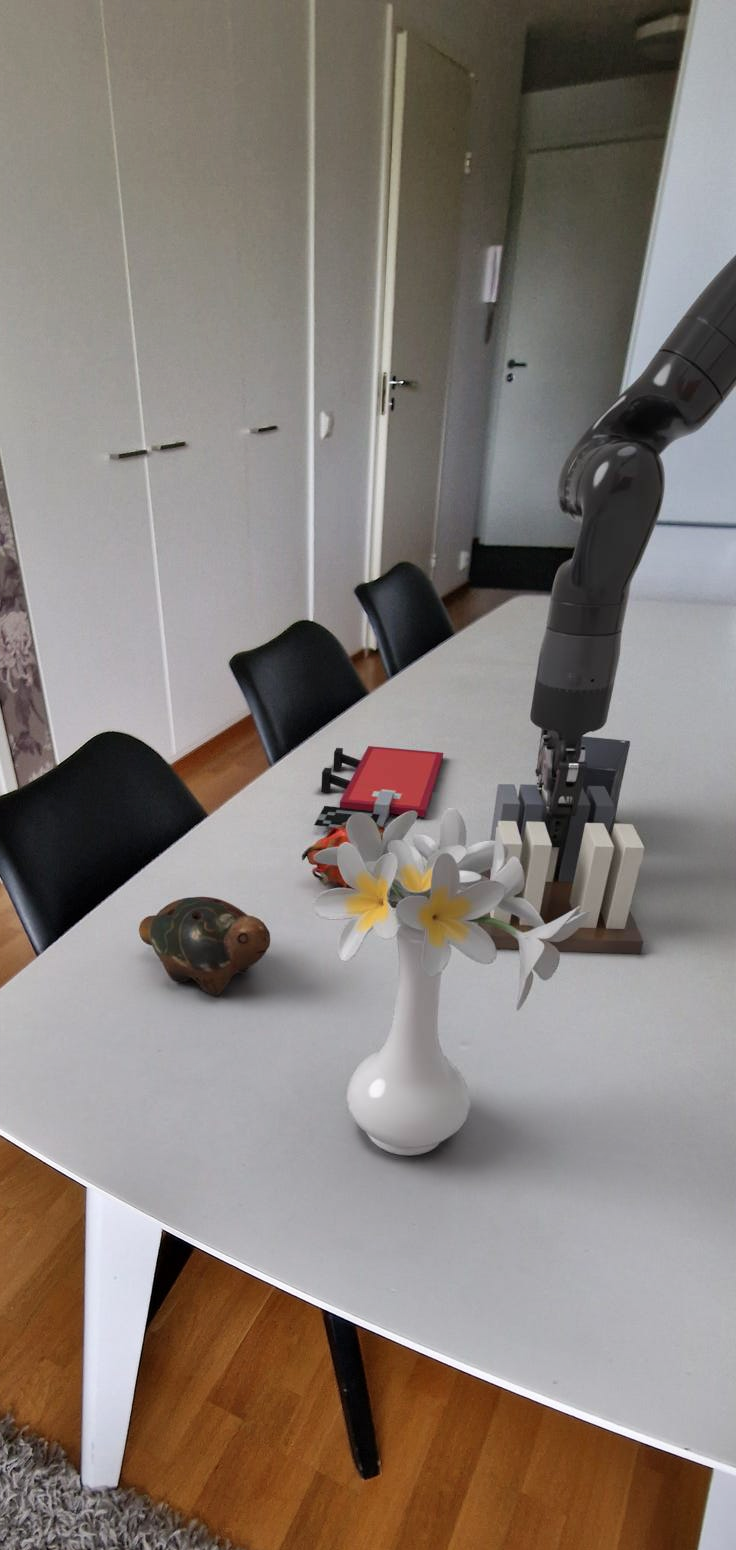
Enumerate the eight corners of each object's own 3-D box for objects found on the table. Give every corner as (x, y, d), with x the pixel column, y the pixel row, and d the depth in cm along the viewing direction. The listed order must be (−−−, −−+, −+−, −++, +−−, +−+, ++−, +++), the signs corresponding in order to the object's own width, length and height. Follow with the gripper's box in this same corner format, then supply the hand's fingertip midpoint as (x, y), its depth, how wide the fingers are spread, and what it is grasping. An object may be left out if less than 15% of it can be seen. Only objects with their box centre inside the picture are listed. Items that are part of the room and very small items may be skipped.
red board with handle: (299, 830, 117) (417, 843, 114) (299, 809, 115) (419, 822, 112) (343, 753, 140) (442, 762, 137) (344, 734, 139) (444, 743, 136)
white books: (614, 903, 97) (632, 823, 92) (624, 929, 93) (644, 847, 88) (487, 899, 99) (498, 820, 94) (491, 924, 94) (503, 843, 89)
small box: (563, 813, 120) (578, 733, 114) (615, 821, 118) (633, 739, 112) (546, 845, 113) (561, 761, 106) (601, 854, 110) (619, 769, 104)
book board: (603, 865, 108) (605, 853, 107) (640, 954, 92) (643, 941, 91) (464, 861, 110) (466, 849, 109) (477, 947, 94) (479, 935, 93)
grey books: (588, 861, 106) (604, 785, 100) (597, 883, 101) (614, 805, 96) (487, 858, 107) (497, 783, 101) (491, 880, 102) (502, 803, 97)
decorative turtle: (251, 1018, 85) (241, 944, 80) (119, 986, 91) (103, 916, 87) (299, 964, 91) (293, 892, 86) (173, 937, 98) (160, 869, 93)
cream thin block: (546, 860, 106) (559, 784, 101) (552, 882, 102) (567, 804, 96) (530, 859, 106) (542, 784, 101) (536, 881, 102) (549, 804, 97)
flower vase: (504, 1228, 64) (569, 910, 49) (271, 1141, 71) (266, 843, 56) (554, 1117, 73) (621, 820, 58) (342, 1050, 80) (354, 773, 66)
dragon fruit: (411, 911, 103) (309, 911, 107) (418, 843, 106) (318, 846, 110) (398, 874, 96) (288, 876, 100) (406, 803, 98) (299, 808, 102)
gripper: (629, 698, 85) (594, 863, 95) (601, 656, 97) (572, 808, 107) (546, 697, 86) (520, 861, 96) (528, 656, 98) (506, 807, 107)
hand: (547, 832), depth 101 cm, fingers open, 5 cm apart
